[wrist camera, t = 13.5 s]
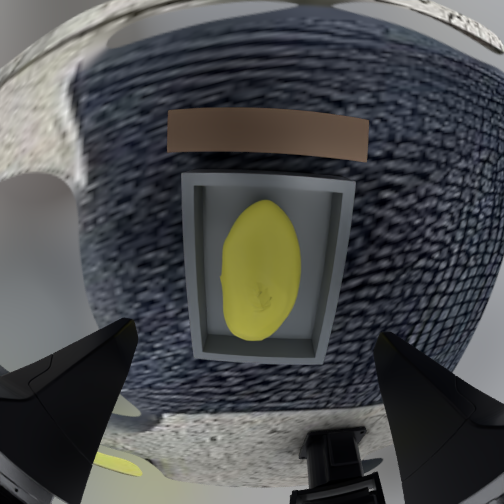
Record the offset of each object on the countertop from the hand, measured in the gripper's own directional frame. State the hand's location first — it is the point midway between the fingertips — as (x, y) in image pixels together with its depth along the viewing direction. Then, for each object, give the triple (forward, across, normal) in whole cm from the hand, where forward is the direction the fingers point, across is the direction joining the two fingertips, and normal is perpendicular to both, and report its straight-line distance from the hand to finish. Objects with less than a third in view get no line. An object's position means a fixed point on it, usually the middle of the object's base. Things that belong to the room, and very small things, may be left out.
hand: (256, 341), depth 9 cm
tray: (+8, 0, +1) cm, 8 cm away
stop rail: (+8, 0, -7) cm, 10 cm away
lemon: (+7, 0, 0) cm, 7 cm away
